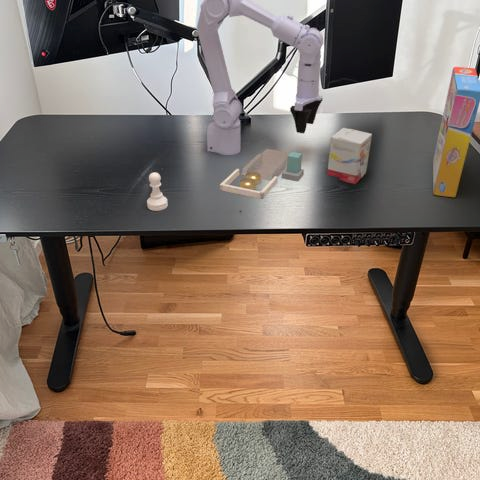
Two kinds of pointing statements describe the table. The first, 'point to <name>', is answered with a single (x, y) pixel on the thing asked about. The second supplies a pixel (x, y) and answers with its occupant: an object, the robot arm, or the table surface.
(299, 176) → the teal and gray box
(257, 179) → the gold knob
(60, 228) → the table surface
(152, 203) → the chess pawn
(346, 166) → the ink box
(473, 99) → the game box
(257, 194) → the tray
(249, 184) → the gold round piece
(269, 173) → the slotted rail
